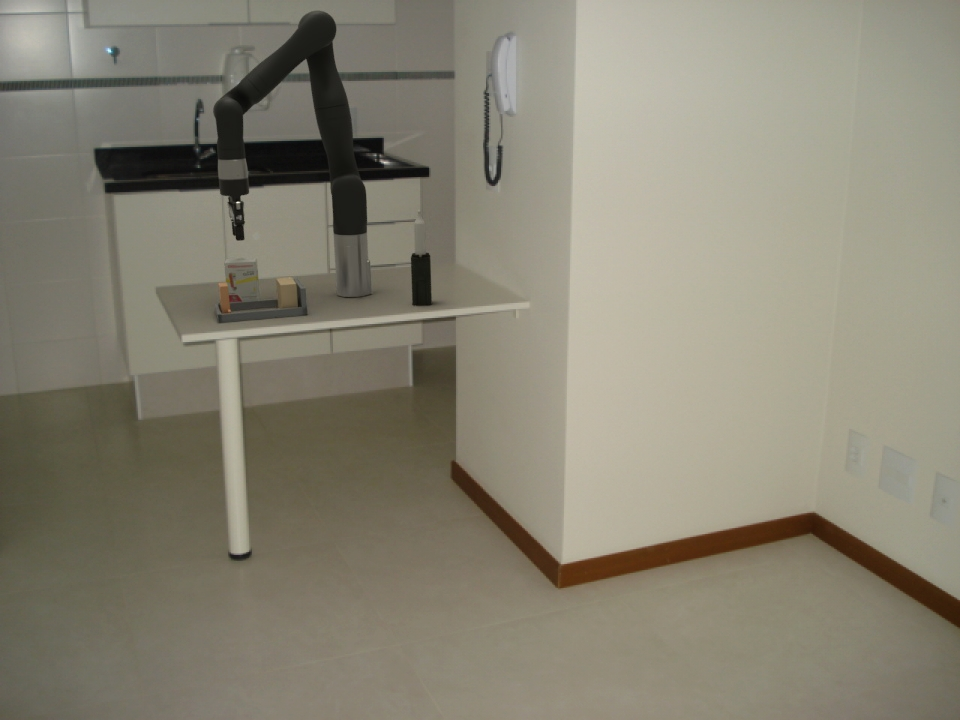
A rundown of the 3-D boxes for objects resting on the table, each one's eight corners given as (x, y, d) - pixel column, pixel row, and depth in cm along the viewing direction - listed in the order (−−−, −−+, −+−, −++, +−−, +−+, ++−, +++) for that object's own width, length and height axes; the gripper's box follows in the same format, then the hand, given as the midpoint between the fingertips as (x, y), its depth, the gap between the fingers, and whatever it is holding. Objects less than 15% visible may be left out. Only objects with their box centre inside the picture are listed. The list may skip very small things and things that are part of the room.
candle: (431, 300, 271) (429, 208, 264) (431, 305, 266) (428, 211, 259) (412, 301, 271) (409, 208, 264) (412, 305, 266) (409, 211, 259)
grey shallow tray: (299, 303, 270) (297, 278, 268) (307, 314, 258) (305, 288, 256) (214, 311, 263) (212, 285, 261) (218, 322, 251) (216, 295, 249)
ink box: (227, 305, 270) (223, 262, 266) (228, 301, 274) (224, 258, 271) (259, 303, 271) (256, 260, 268) (260, 299, 276) (256, 257, 272)
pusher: (228, 310, 263) (225, 280, 261) (231, 319, 254) (228, 288, 251) (220, 310, 262) (217, 280, 260) (223, 320, 253) (220, 288, 251)
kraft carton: (293, 306, 268) (291, 277, 265) (298, 314, 259) (296, 283, 257) (278, 307, 266) (276, 278, 264) (282, 315, 258) (280, 285, 256)
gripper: (251, 178, 257) (256, 241, 262) (245, 173, 270) (249, 232, 275) (221, 180, 255) (226, 243, 260) (216, 174, 268) (221, 234, 273)
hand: (238, 237), depth 267 cm, fingers open, 8 cm apart
